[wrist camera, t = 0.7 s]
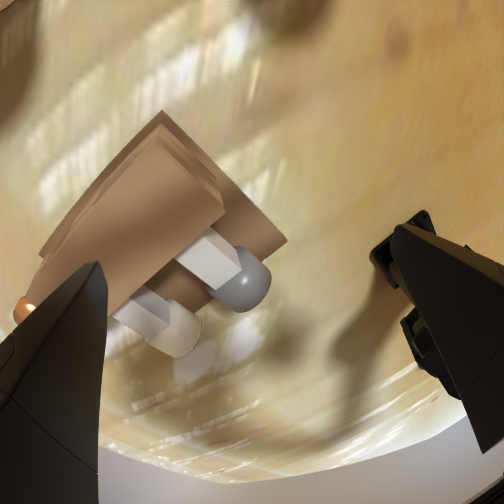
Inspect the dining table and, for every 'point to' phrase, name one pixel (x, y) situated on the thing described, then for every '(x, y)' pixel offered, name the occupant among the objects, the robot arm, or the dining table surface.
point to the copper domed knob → (23, 308)
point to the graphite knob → (227, 271)
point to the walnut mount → (152, 220)
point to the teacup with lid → (5, 3)
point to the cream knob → (160, 322)
